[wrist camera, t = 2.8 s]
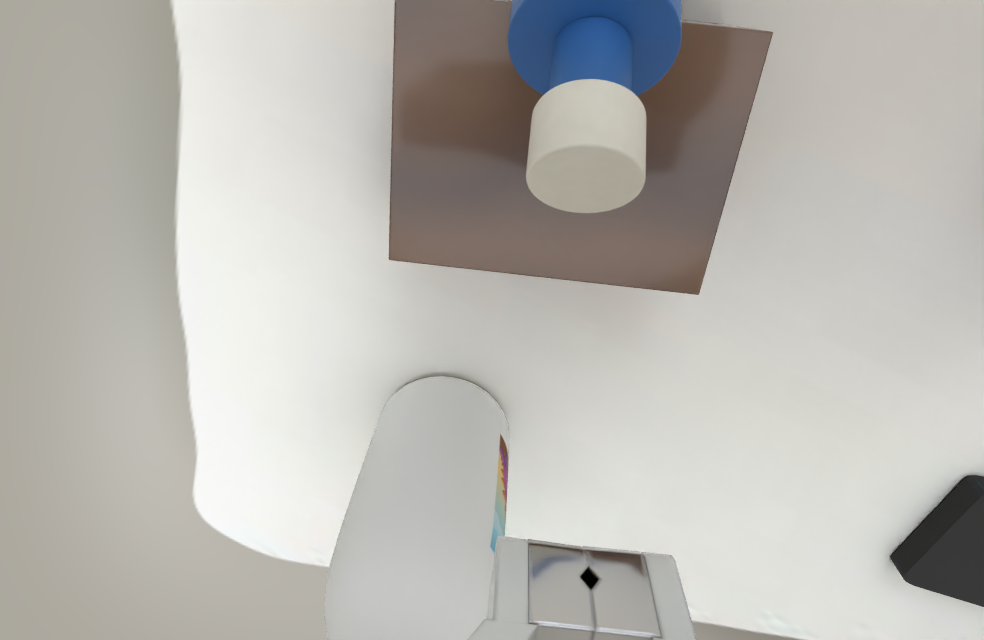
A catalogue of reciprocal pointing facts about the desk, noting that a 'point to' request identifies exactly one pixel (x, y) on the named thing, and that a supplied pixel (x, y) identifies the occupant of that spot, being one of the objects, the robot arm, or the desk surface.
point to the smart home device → (949, 546)
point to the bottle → (591, 93)
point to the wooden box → (505, 143)
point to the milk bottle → (422, 518)
